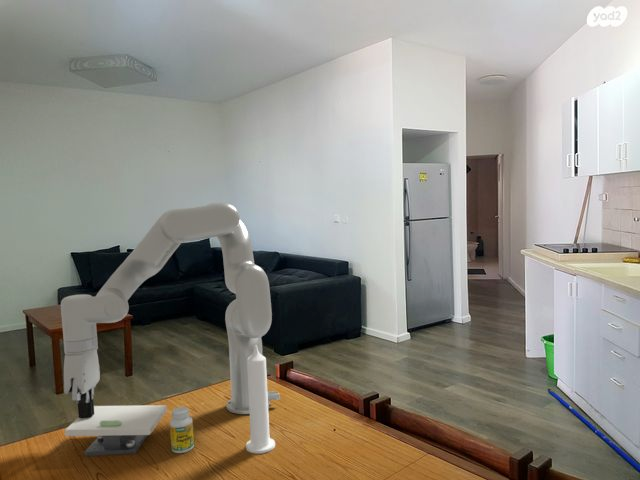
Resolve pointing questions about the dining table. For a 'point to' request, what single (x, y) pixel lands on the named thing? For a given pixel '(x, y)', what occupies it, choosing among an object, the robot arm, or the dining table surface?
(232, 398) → the robot arm
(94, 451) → the tribrach base
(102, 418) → the level board
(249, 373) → the candle
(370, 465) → the dining table surface
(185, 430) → the supplement bottle
